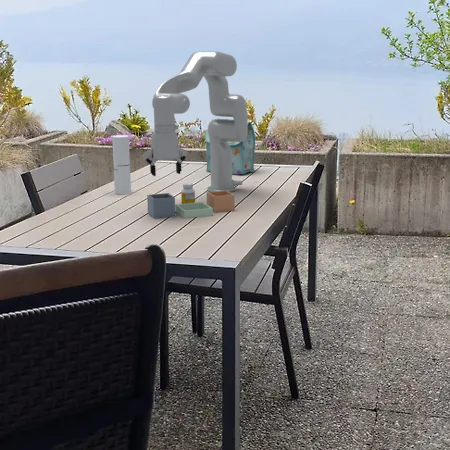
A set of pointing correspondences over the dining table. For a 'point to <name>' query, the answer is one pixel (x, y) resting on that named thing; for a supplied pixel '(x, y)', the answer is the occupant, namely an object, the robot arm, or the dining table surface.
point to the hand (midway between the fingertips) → (166, 174)
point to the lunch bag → (238, 153)
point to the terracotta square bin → (221, 201)
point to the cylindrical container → (121, 164)
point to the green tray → (194, 210)
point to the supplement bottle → (188, 193)
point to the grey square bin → (161, 205)
